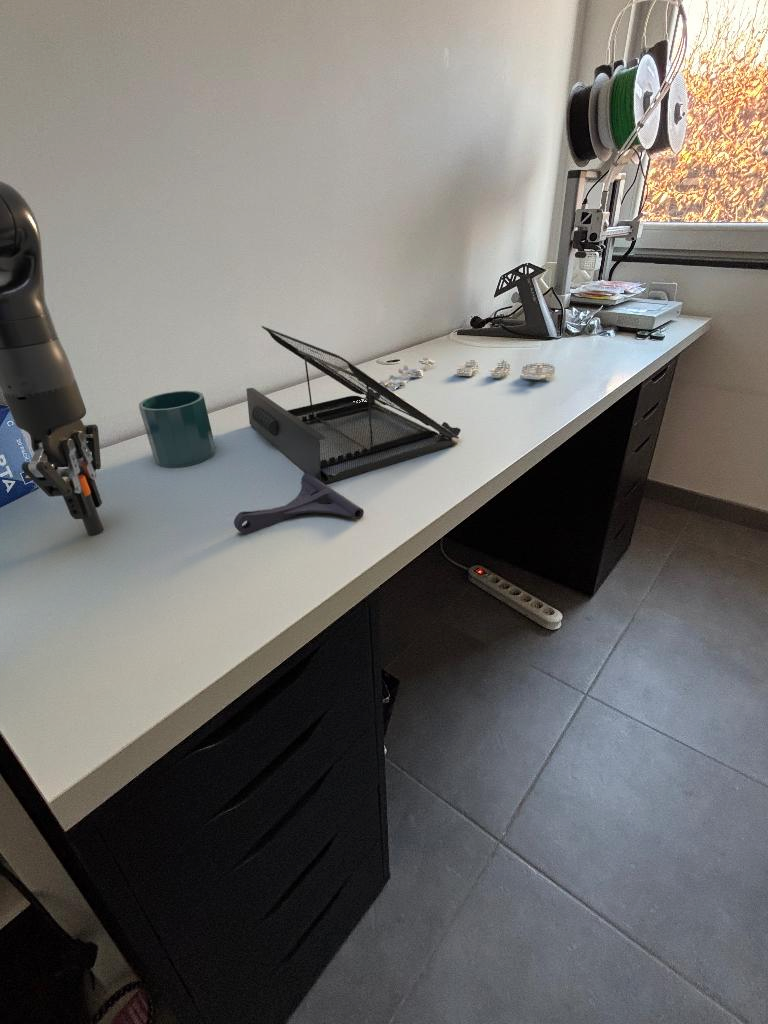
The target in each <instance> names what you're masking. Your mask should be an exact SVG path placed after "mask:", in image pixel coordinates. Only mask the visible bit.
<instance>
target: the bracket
mask: <svg viewBox="0 0 768 1024" xmlns="http://www.w3.org/2000/svg"><path fill="white" fill-rule="evenodd" d="M300 484H301V487H300V491H299V493H298V494H297V495H296V497H294V499H292V500H291V501H290V502H288V503H287V504H285V505H281V506H276V507H273V508H267V509H259V510H250V511H249V510H248V511H247V510H246V511H240V512H238V514H237V515H236V516H235V517H234V520H233V525H234V527H235V530H237V531H238V532H239V533H240V534H242V535H246V534H251V533H253V532H256V531H259V530H262V529H265V528H267V527H269V526H272V525H275V524H278V523H280V522H283V521H286V520H288V519H291V518H294V517H297V516H299V515H302V514H306V513H321V514H322V513H324V514H334V515H339V516H342V517H347V518H353V519H354V520H360V519H362V517H363V516H364V513H365V511H364V509H363V508H362V507H360V506H359V505H357V504H356V503H354V502H352V501H351V500H349V499H348V498H347V497H345V496H343V495H342V494H340V493H339V492H338V491H336V490H335V489H333V488H331V487H330V486H329V485H327V484H324V483H322V482H321V481H319V480H318V479H316V478H315V477H313V476H312V475H310V474H308V473H304V474H303V475H302V477H301V482H300ZM245 522H246V523H245ZM244 523H245V524H244Z"/></svg>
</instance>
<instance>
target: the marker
mask: <svg viewBox="0 0 768 1024" xmlns="http://www.w3.org/2000/svg"><path fill="white" fill-rule="evenodd" d="M78 478H79V482H80V485H81V491H83V492H84V495H85V497H86V500H87V503H88V505H89V508H90V511H91V516H90V517H89V518H87V519H81V520H82V521H81V522H82V523H83V525H84V528H85V531H86V533H87V535H88V536H95V535H99V534H101V533H102V532H103V531H104V530H105V529H104V526H103V523H102V521H101V518H100V515H99V512H98V510H97V508H96V507H95V504H94V502H93V499H92V496H91V494H90V493H91V491H90V488H89V486H88V483H87V480H86V478H85V476H84V475H81V474H80V475H78ZM65 481H66V482H67V483H68V484H70V482H69V479H68V478H67V477H66V478H65Z"/></svg>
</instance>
